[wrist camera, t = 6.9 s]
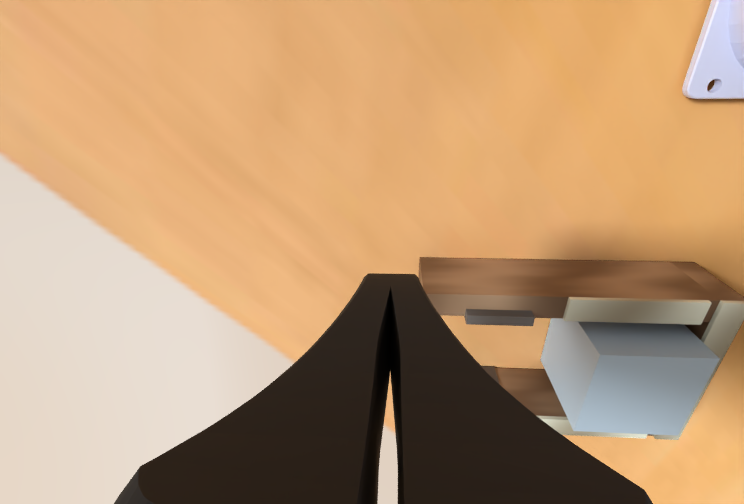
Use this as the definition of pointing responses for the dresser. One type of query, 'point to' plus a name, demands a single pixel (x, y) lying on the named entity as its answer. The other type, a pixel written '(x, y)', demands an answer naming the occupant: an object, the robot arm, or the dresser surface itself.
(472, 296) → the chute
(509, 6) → the dresser surface
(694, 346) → the slate block
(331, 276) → the dresser surface
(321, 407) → the robot arm
